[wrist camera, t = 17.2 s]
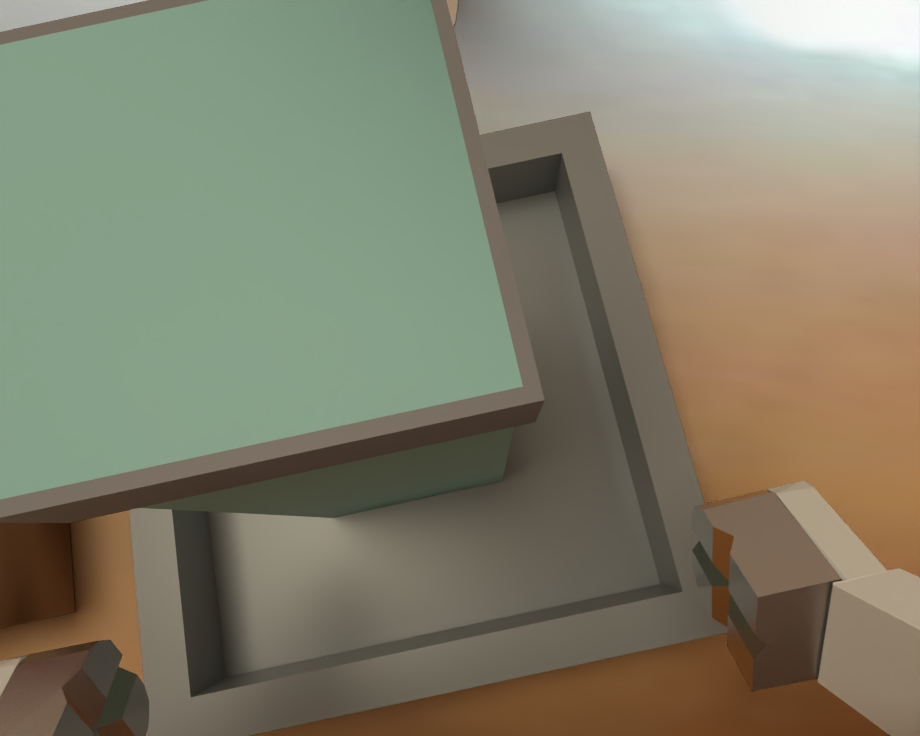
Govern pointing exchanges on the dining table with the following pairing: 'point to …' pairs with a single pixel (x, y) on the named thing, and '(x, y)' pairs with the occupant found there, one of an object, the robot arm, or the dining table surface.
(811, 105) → the dining table surface
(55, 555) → the walnut collar
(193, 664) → the grey tray
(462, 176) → the pin
